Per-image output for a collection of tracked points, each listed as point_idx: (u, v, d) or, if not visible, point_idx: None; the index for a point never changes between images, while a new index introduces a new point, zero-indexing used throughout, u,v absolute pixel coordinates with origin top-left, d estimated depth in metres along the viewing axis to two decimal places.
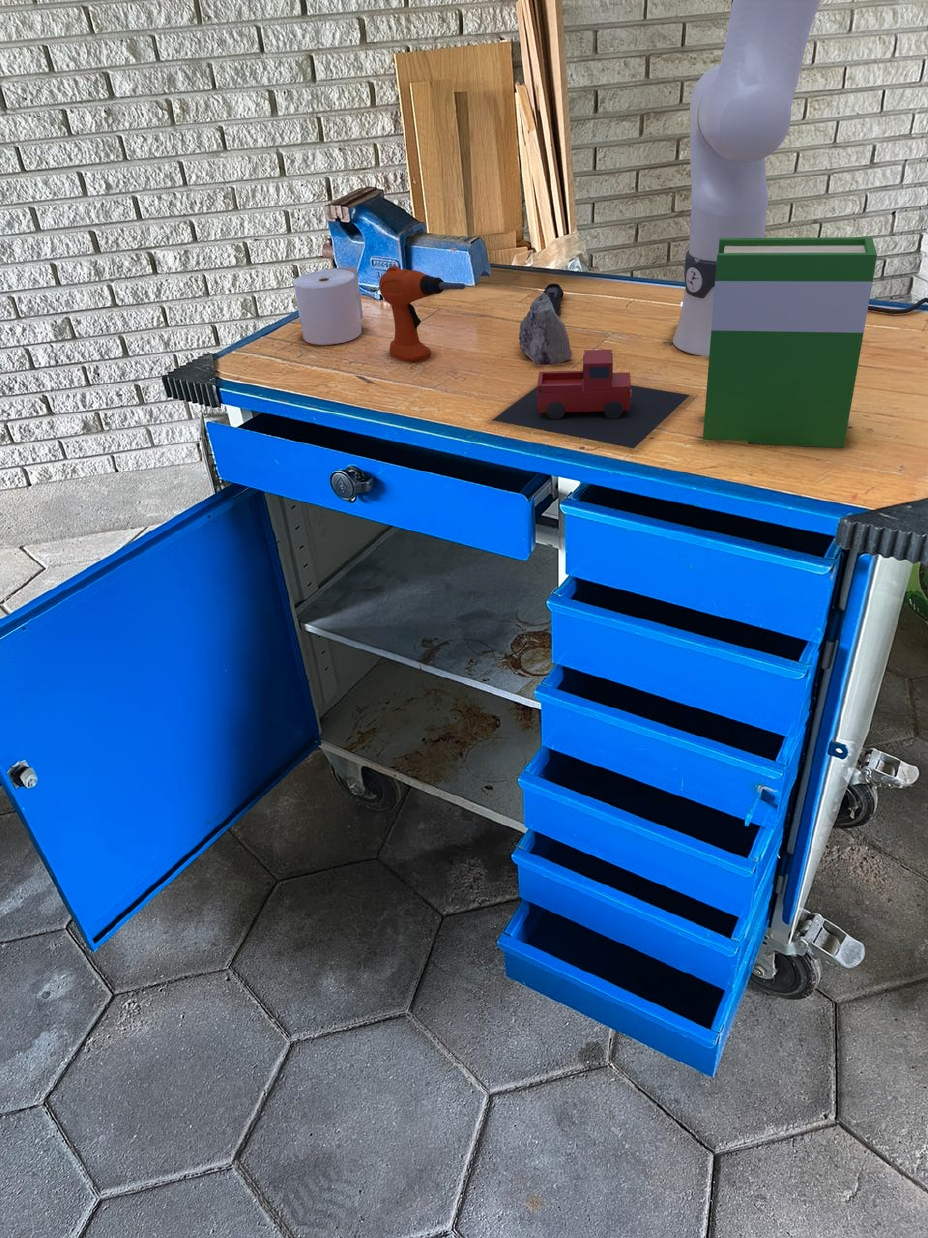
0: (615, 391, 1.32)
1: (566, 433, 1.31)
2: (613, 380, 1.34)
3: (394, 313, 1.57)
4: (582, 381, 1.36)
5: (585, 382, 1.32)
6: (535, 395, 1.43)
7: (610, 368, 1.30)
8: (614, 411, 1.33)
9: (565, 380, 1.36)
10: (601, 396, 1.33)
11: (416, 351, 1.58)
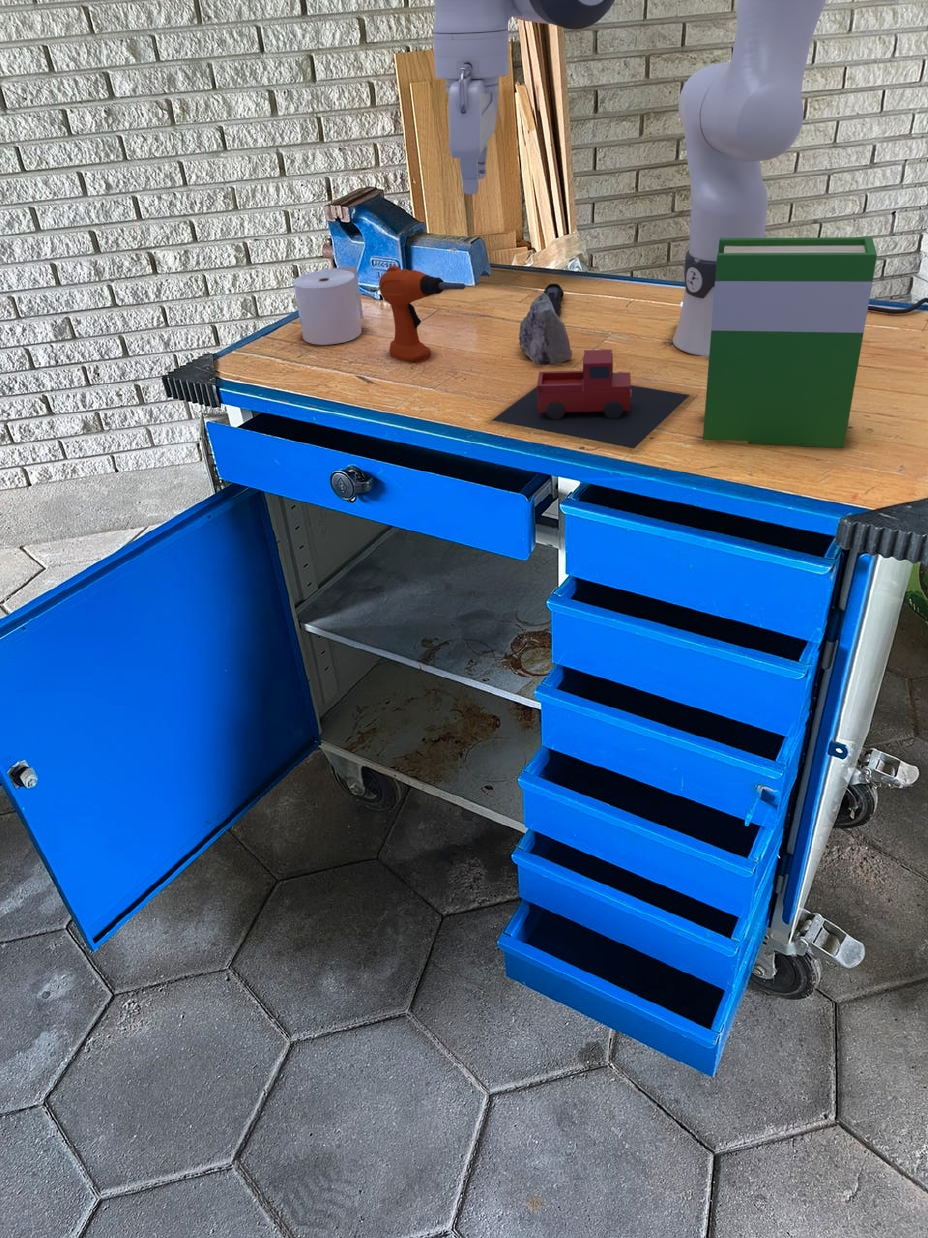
0: (615, 391, 1.32)
1: (566, 433, 1.31)
2: (613, 380, 1.34)
3: (394, 313, 1.57)
4: (582, 381, 1.36)
5: (585, 382, 1.32)
6: (535, 395, 1.43)
7: (610, 368, 1.30)
8: (614, 411, 1.33)
9: (565, 380, 1.36)
10: (601, 396, 1.33)
11: (416, 351, 1.58)
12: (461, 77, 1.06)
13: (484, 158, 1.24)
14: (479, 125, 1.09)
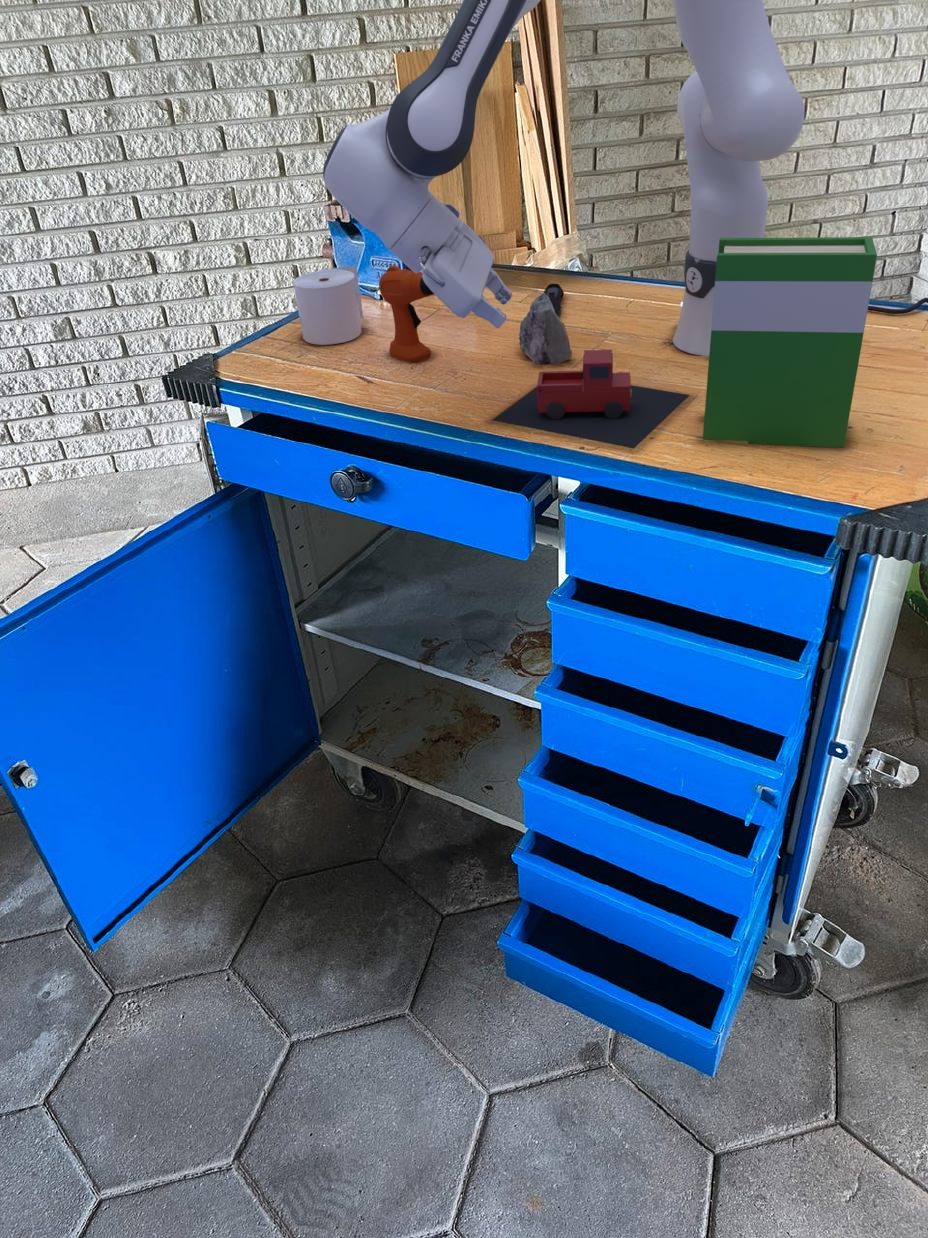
0: (615, 391, 1.32)
1: (566, 433, 1.31)
2: (613, 380, 1.34)
3: (394, 313, 1.57)
4: (582, 381, 1.36)
5: (585, 382, 1.32)
6: (535, 395, 1.43)
7: (610, 368, 1.30)
8: (614, 411, 1.33)
9: (565, 380, 1.36)
10: (601, 396, 1.33)
11: (416, 351, 1.58)
12: (421, 266, 1.18)
13: (500, 283, 1.33)
14: (461, 281, 1.19)
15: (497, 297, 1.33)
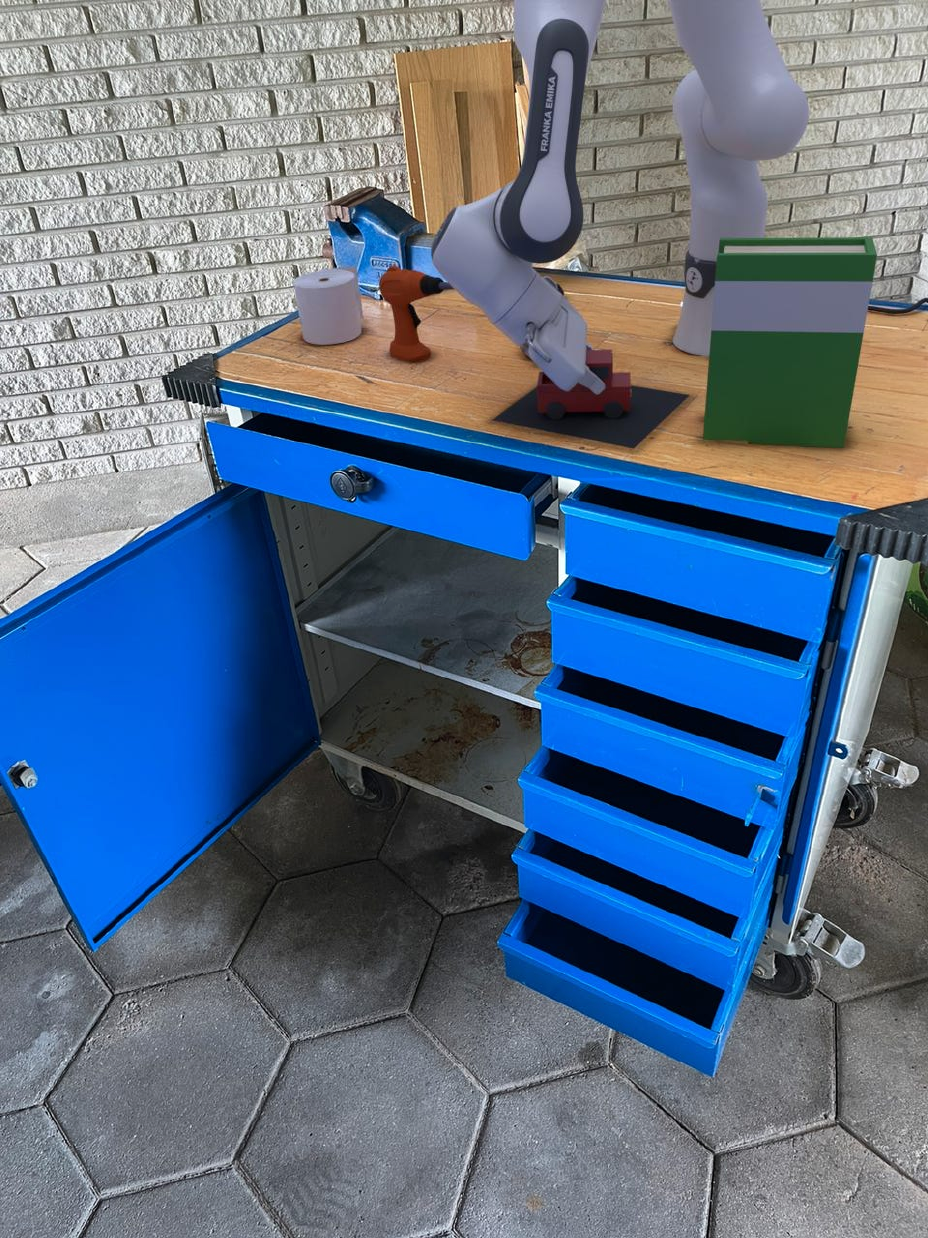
0: (615, 391, 1.32)
1: (566, 433, 1.31)
2: (613, 380, 1.33)
3: (394, 313, 1.57)
4: None
5: None
6: (535, 395, 1.43)
7: (610, 368, 1.30)
8: (614, 411, 1.33)
9: None
10: (601, 396, 1.33)
11: (416, 351, 1.58)
12: (529, 343, 1.22)
13: None
14: (567, 357, 1.23)
15: None
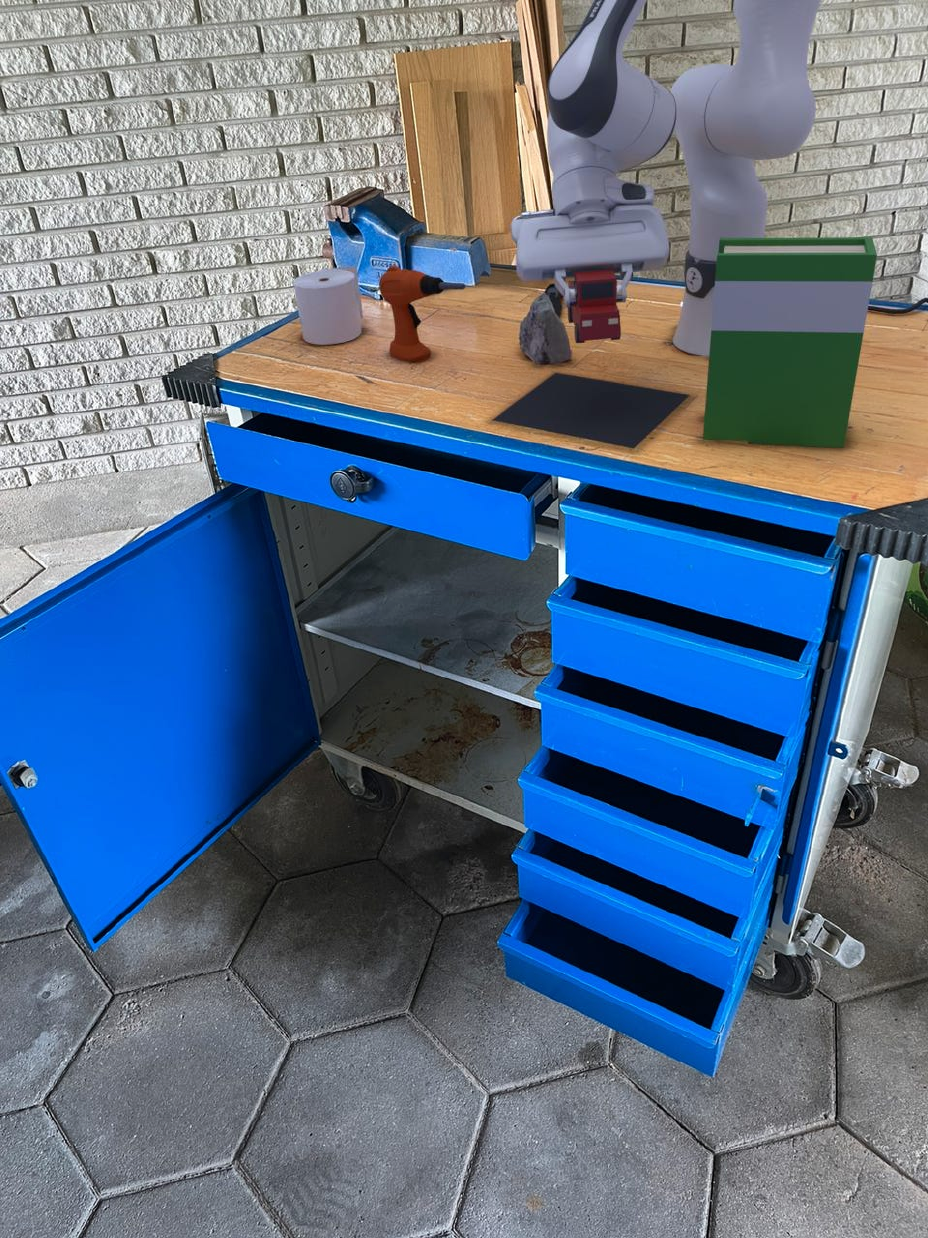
0: (577, 314, 1.26)
1: (566, 433, 1.31)
2: (594, 306, 1.26)
3: (394, 313, 1.57)
4: None
5: None
6: (535, 395, 1.43)
7: (577, 286, 1.25)
8: (575, 334, 1.28)
9: None
10: (576, 314, 1.28)
11: (416, 351, 1.58)
12: (513, 219, 1.29)
13: (622, 281, 1.26)
14: (520, 245, 1.27)
15: None
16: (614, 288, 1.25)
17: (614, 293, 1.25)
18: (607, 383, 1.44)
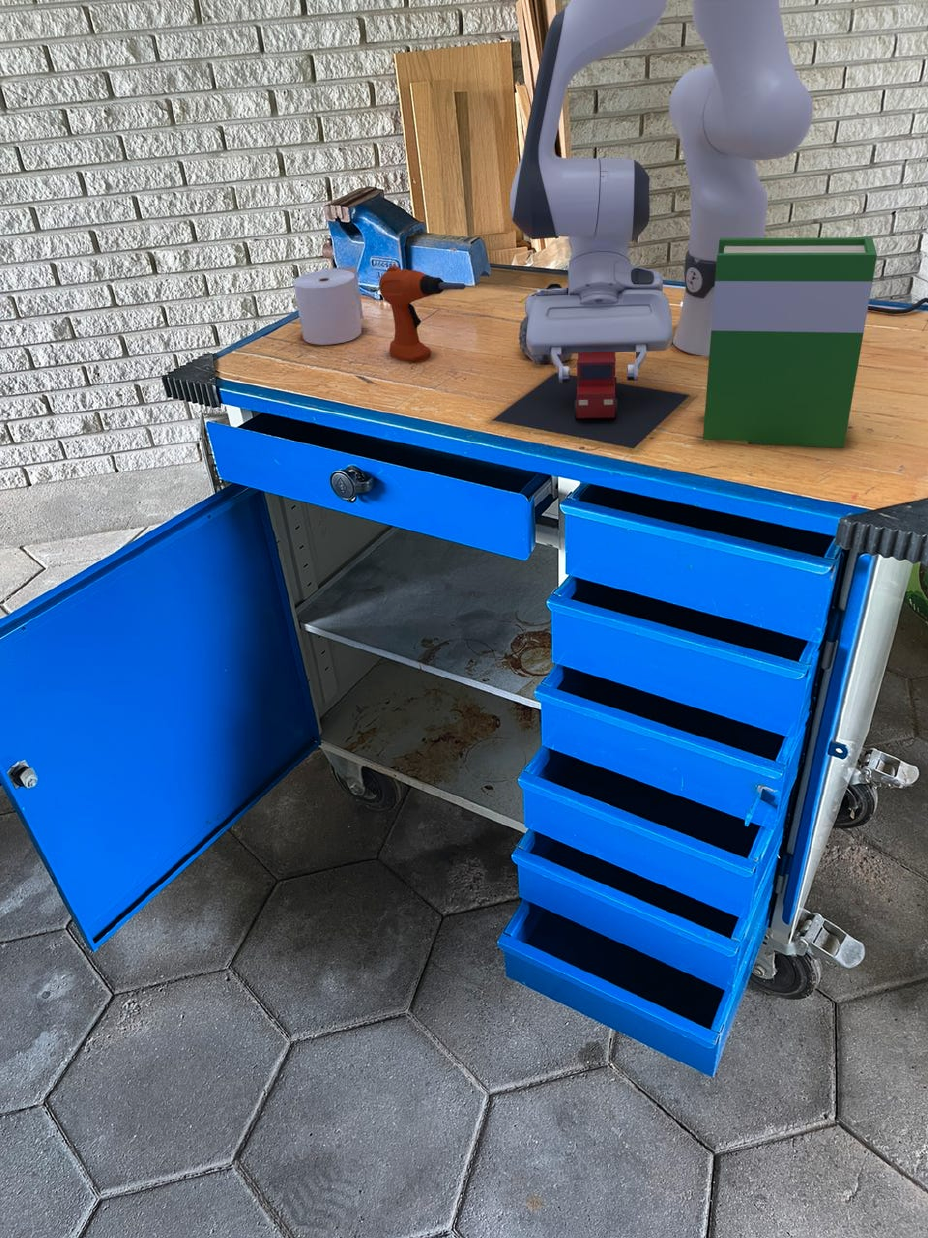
0: (577, 392, 1.33)
1: (566, 433, 1.31)
2: (593, 386, 1.32)
3: (394, 313, 1.57)
4: None
5: None
6: (535, 395, 1.43)
7: (577, 367, 1.31)
8: None
9: None
10: None
11: (416, 351, 1.58)
12: (529, 296, 1.37)
13: (635, 361, 1.32)
14: (531, 322, 1.34)
15: (627, 371, 1.34)
16: (612, 371, 1.31)
17: (612, 375, 1.31)
18: None
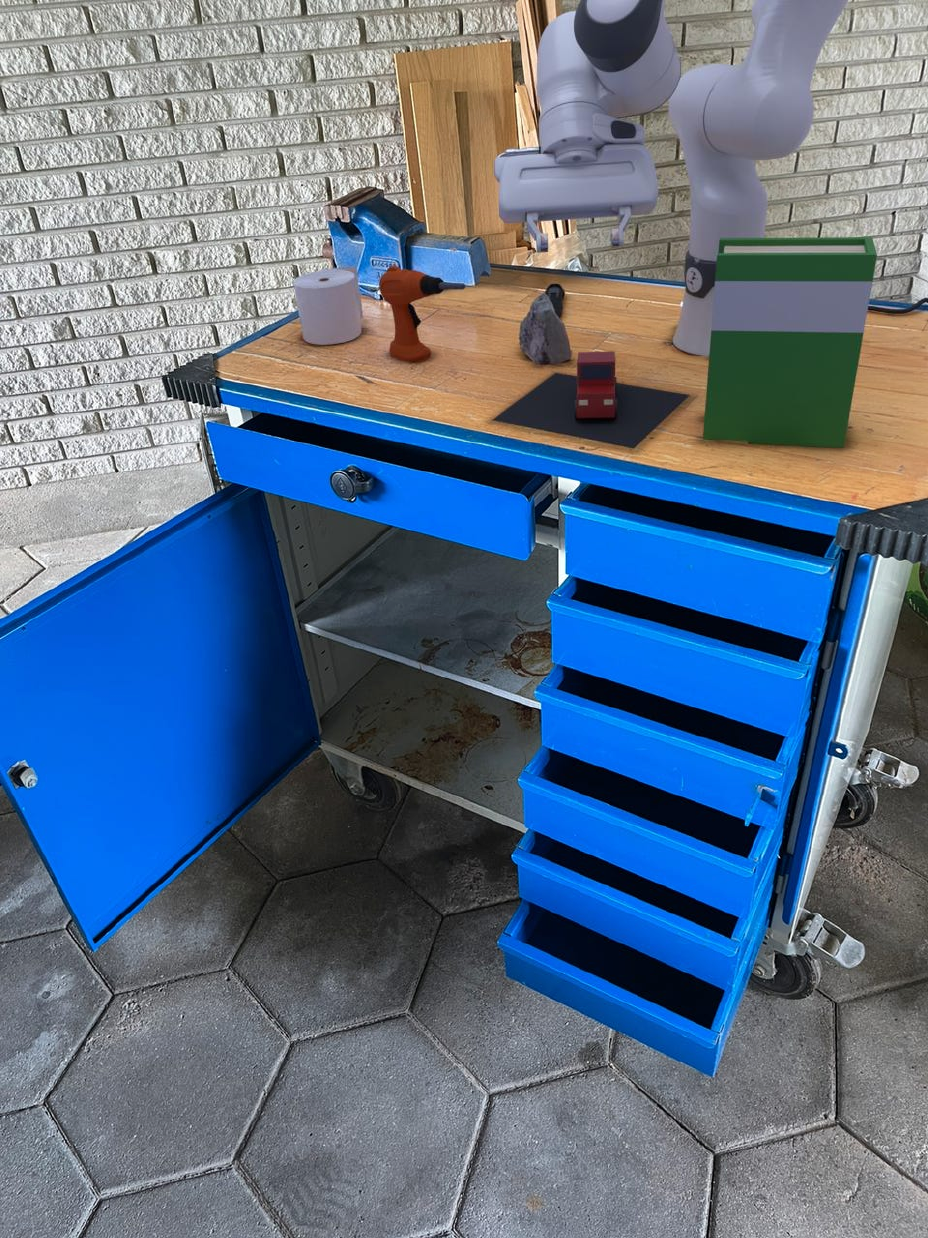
0: (577, 392, 1.33)
1: (566, 433, 1.31)
2: (593, 386, 1.32)
3: (394, 313, 1.57)
4: None
5: None
6: (535, 395, 1.43)
7: (577, 367, 1.31)
8: None
9: None
10: None
11: (416, 351, 1.58)
12: (497, 157, 1.24)
13: (619, 225, 1.21)
14: (503, 185, 1.21)
15: (610, 237, 1.22)
16: (612, 371, 1.31)
17: (612, 375, 1.31)
18: None
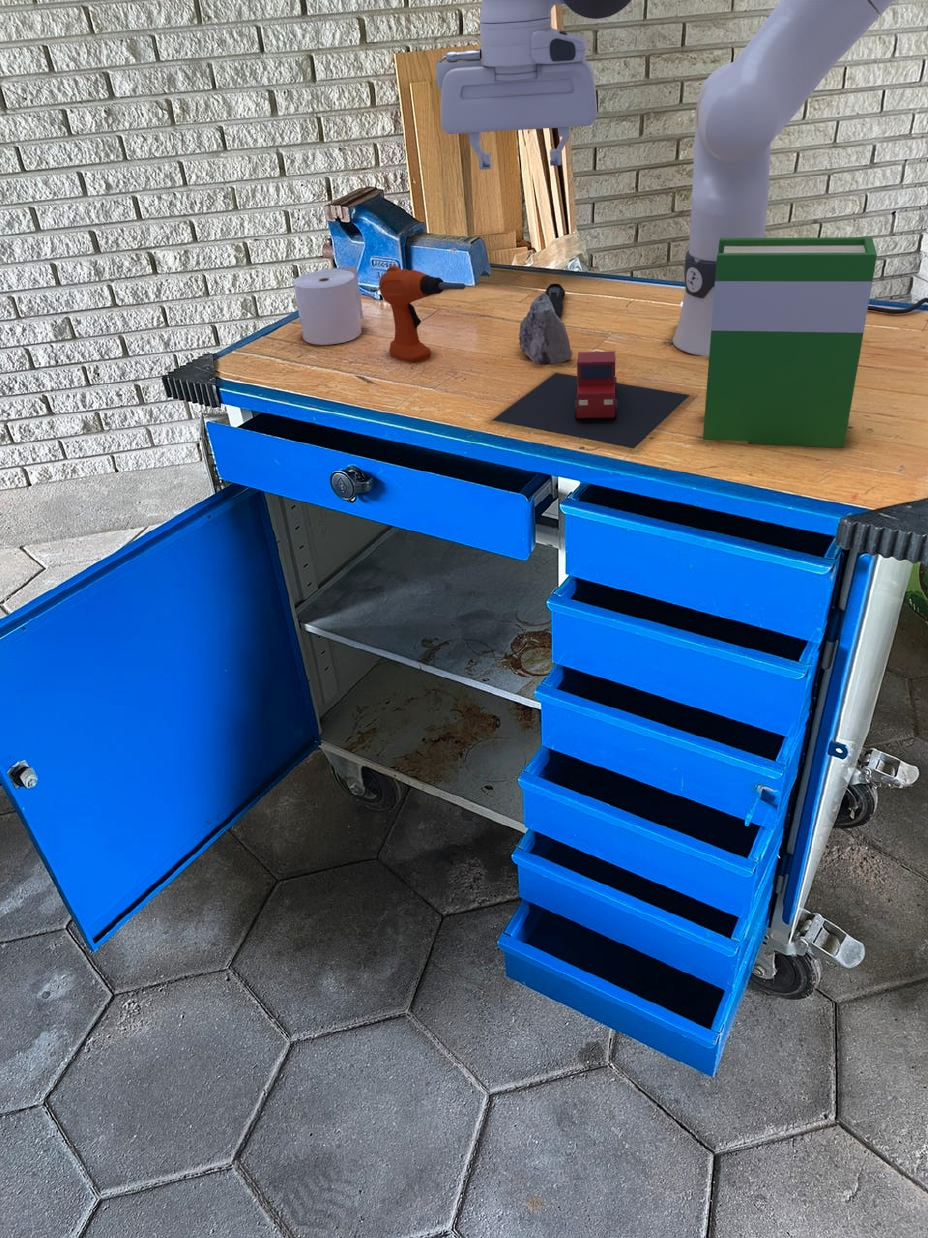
0: (577, 392, 1.33)
1: (566, 433, 1.31)
2: (593, 386, 1.32)
3: (394, 313, 1.57)
4: None
5: None
6: (535, 395, 1.43)
7: (577, 367, 1.31)
8: None
9: None
10: None
11: (416, 351, 1.58)
12: None
13: (558, 147, 1.25)
14: (444, 105, 1.23)
15: None
16: (612, 371, 1.31)
17: (612, 375, 1.31)
18: None
